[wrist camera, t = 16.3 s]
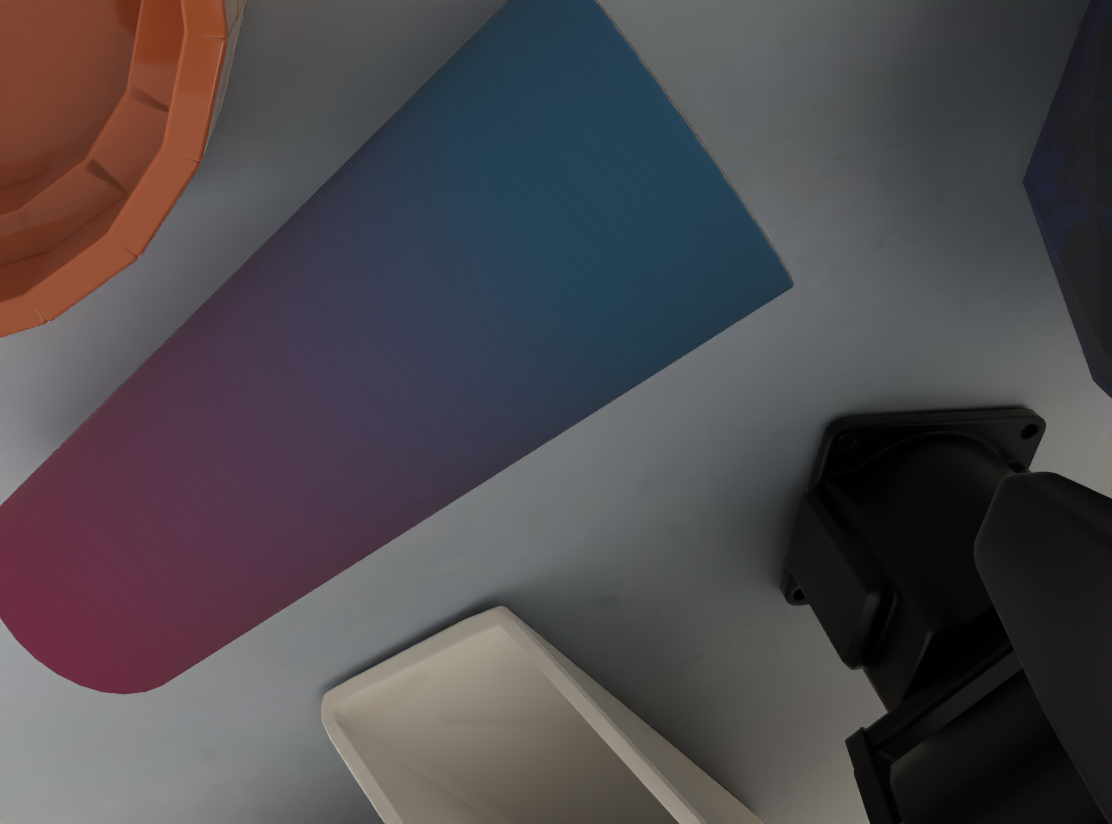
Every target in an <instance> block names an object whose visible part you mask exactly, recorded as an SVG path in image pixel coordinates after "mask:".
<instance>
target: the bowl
mask: <svg viewBox="0 0 1112 824" xmlns="http://www.w3.org/2000/svg"><path fill="white" fill-rule="evenodd" d="M245 5H246V0H0V338H1V337H4V336H7V335H11V334H14V333H17V332H20V331H24V330H27V329H30V328H33V327H37V326H40V325H43V324H46V323H47V322H48V321H52V320H54V319H55V318H57V317H58V316H60V315H61V314H62V313H64V312H65V311H67V310H68V309H69V308H71V307H72V306H74V305H75V304H76V303H78V302H79V301H81V300H82V299H83V298H85V297H86V296H87V295H89V294H90V293H92V292H93V291H94V290H96V289H97V288H99V287H100V286H101V285H103V284H104V283H106V282H107V281H108V280H110V279H111V278H112V277H114V276H115V275H117V274H118V273H119V272H121V271H122V270H124V269H125V268H126V267H128V266H129V265H131V264H132V263H133V262H135V261H136V260H137V259H138V256H140V255H142V254H143V253H144V251H145V249H146V248H147V246H148V245H149V243H150V242H151V240H152V239H153V237H154V236H155V234H156V233H157V231H158V230H159V228H160V226H161V225H162V223H163V222H164V220H165V219H166V217H167V216H168V214H169V213H170V211H171V210H172V208H173V207H174V205H175V204H176V202H177V200H178V199H179V197H180V196H181V194H182V193H183V191H184V190H185V188H186V187H187V185H188V184H189V182H190V181H191V179H192V178H193V176H194V174H195V173H196V171H197V170H198V168H199V167H200V164H201V161H202V159H203V157H204V154H205V151H206V149H207V146H208V143H209V141H210V138H211V135H212V132H213V130H214V127H215V125H216V122H217V119H218V116H219V114H220V111H221V108H222V105H223V103H224V100H225V95H226V91H227V86H228V82H229V77H230V73H231V68H232V64H233V59H234V55H235V50H236V46H237V41H238V37H239V32H240V28H241V23H242V19H243V14H244V9H245Z"/></svg>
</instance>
